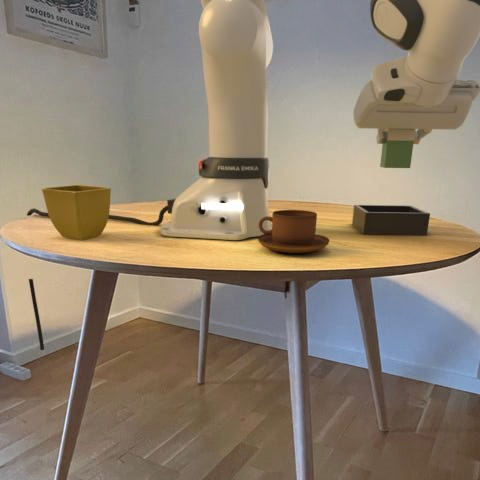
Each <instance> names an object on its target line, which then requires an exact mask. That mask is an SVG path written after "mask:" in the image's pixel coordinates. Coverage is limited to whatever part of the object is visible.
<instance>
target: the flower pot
mask: <svg viewBox="0 0 480 480" xmlns="http://www.w3.org/2000/svg"><path fill="white" fill-rule="evenodd" d="M41 191H42V194H43V199H44V203H45V207H46V210H47V213H48V214H49V217H48V218H49V219H50V222H51V223H52V225H53V227H54V228H55V230H56V231H57V232H58V233H59V235H60V236H61V237H62V238H69V239H74V240H80V241H84V240H86V239H91V238H97V237H100V236H101V235H102V234H103V233H104V230H105V228H106V226H107V224H108V221H109V219H108V218H109V215H110V211H111V210H110V209H111V193H112V188H111V187H107V186H106V187H105V186H96V185H85V184H84V185H83V184H72V185H61V186H60V185H59V186H51V187H43V188H41Z"/></svg>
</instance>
